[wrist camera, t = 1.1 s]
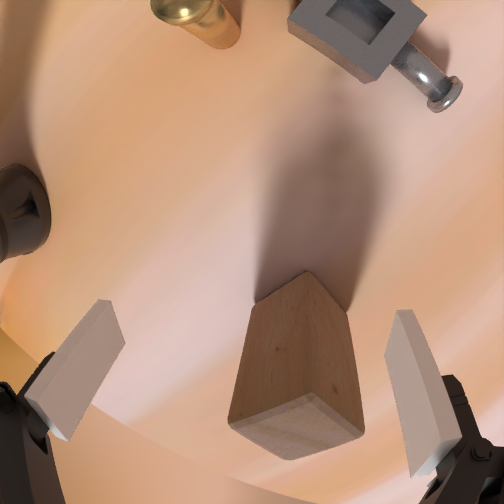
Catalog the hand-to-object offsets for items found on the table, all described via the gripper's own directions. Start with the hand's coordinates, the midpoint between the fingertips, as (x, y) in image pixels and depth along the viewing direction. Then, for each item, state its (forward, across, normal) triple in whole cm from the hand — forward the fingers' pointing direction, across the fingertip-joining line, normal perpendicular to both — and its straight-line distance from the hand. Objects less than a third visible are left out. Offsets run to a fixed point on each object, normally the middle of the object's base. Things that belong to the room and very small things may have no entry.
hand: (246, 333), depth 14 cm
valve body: (+25, +9, +19) cm, 33 cm away
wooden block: (+25, +3, -17) cm, 31 cm away
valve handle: (+25, -5, +18) cm, 31 cm away
